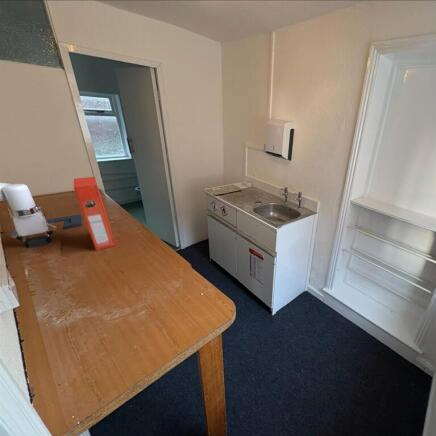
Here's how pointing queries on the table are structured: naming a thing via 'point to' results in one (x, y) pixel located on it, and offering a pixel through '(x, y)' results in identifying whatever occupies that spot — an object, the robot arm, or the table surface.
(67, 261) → the table surface
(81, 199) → the file binder
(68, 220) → the socket pad
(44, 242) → the black pad
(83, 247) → the table surface
